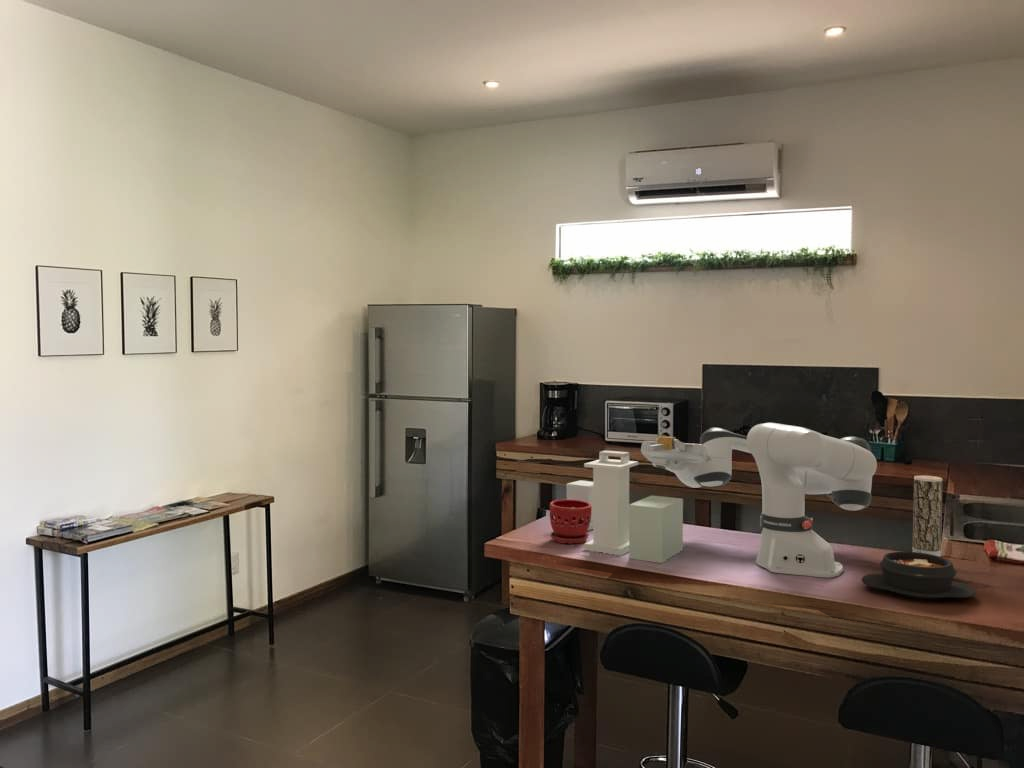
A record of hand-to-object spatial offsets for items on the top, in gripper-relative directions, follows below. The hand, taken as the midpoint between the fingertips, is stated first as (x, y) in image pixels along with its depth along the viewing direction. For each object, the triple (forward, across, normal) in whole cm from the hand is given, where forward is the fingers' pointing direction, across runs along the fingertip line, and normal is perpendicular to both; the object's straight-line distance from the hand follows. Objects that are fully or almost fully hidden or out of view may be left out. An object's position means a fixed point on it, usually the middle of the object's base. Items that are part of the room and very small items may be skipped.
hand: (666, 441), depth 237 cm
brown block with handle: (+3, 0, -4) cm, 5 cm away
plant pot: (-10, +29, -32) cm, 44 cm away
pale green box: (-9, 0, -32) cm, 33 cm away
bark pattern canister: (-30, -68, -20) cm, 77 cm away
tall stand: (-8, +14, -33) cm, 36 cm away
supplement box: (-26, +34, -22) cm, 48 cm away
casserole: (-10, -68, -32) cm, 76 cm away
